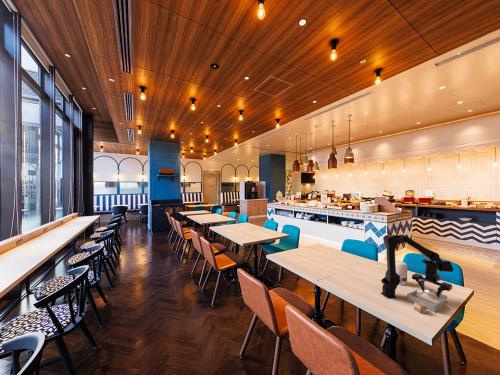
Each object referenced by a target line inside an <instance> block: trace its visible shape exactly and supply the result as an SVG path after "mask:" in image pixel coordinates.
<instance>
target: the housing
mask: <svg viewBox="0 0 500 375" xmlns="http://www.w3.org/2000/svg"><path fill="white" fill-rule="evenodd" d="M416 293H418V289H415V290H413V291H411V292H409V293H407V294H406V295H407V296H406V301H408V302H410V303H412V304H414V302H421V303H423V304H424V305H426V306H427V311H431V312H433V313H437V312H439V310H441V309H442V308H444V306H445V302H444V300H443V299H442V300H441V301H439V302H438V303H436V304H434V303H432V302H429V301H427V300H424V299H422V298H419V297H417V296H415V294H416Z"/></svg>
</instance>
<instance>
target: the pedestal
mask: <svg viewBox="0 0 500 375" xmlns="http://www.w3.org/2000/svg"><path fill="white" fill-rule="evenodd" d="M413 310H414V311H416V312H418V313H419V314H427V312H428V309H427V306H426V305H424V304H423V303H421V302H414V303H413Z"/></svg>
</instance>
